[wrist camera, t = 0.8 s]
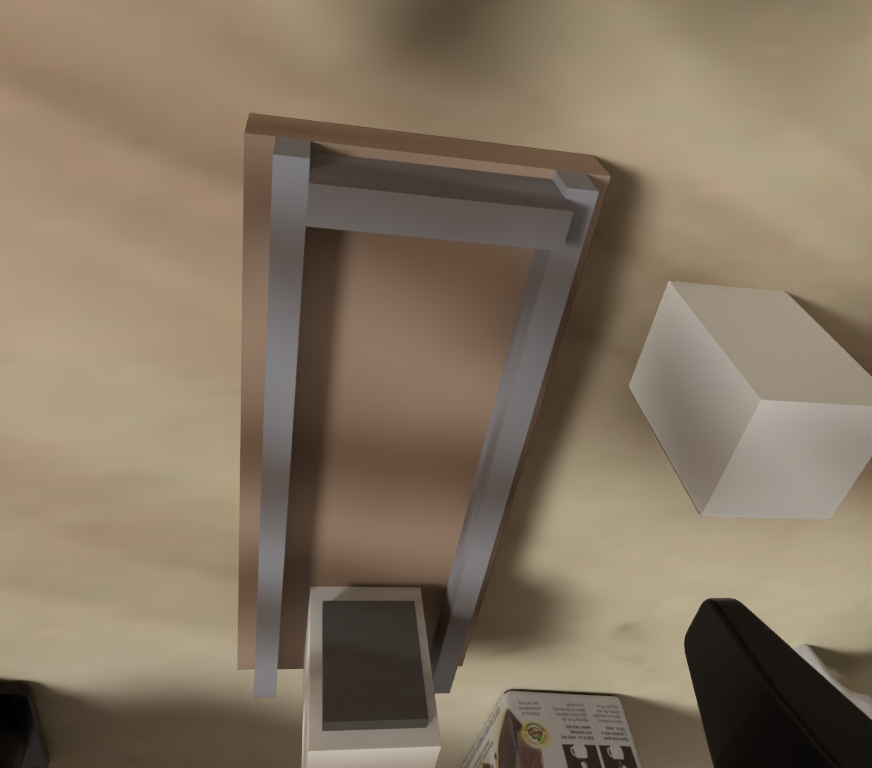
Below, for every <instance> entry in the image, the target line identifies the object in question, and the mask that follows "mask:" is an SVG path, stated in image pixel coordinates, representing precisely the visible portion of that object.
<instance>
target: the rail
mask: <svg viewBox="0 0 872 768" xmlns="http://www.w3.org/2000/svg"><path fill="white" fill-rule="evenodd" d="M610 178H611V176H610V174H609V173H608V172H607V171H606V170H605V169H604V167H603V166H602V165H601V164H600V163H599V161H598V160H597V159H596V158H595V157H594V156H592V155H584V154H576V153H568V152H560V151H551V150H543V149H535V148H527V147H519V146H511V145H503V144H495V143H487V142H479V141H470V140H462V139H454V138H446V137H438V136H430V135H422V134H414V133H406V132H398V131H390V130H381V129H373V128H365V127H357V126H349V125H341V124H333V123H325V122H317V121H309V120H300V119H292V118H284V117H276V116H268V115H260V114H252V113H249V117H248V121H247V125H246V129H245V133H244V210H243V289H242V368H241V447H240V526H239V604H238V670H249V669H255V680H254V698H263V697H275V696H276V680H277V669H304V683H303V731H302V768H435V765H436V762H437V759H438V755H439V752H440V749H441V740H440V732H439V725H438V717H437V710H436V702H435V694H434V693H450V690H451V686H452V683H453V680H454V676H455V673H456V670H457V666H462V665H463V661H464V658H465V655H466V651H467V648H468V645H469V642H470V638H471V635H472V632H473V628H474V625H475V622H476V618H477V615H478V612H479V609H480V605H481V602H482V599H483V595H484V592H485V589H486V586H487V582H488V579H489V576H490V572H491V569H492V566H493V563H494V559H495V556H496V553H497V549H498V546H499V543H500V540H501V536H502V533H503V530H504V526H505V523H506V520H507V517H508V513H509V510H510V507H511V503H512V500H513V497H514V494H515V490H516V487H517V484H518V480H519V477H520V474H521V471H522V467H523V464H524V461H525V457H526V454H527V451H528V448H529V444H530V441H531V438H532V434H533V431H534V428H535V425H536V421H537V418H538V415H539V411H540V408H541V405H542V402H543V398H544V395H545V392H546V388H547V385H548V382H549V379H550V375H551V372H552V369H553V365H554V362H555V359H556V356H557V352H558V349H559V346H560V342H561V339H562V336H563V333H564V329H565V326H566V323H567V319H568V316H569V313H570V309H571V306H572V303H573V300H574V296H575V293H576V290H577V286H578V283H579V280H580V277H581V273H582V270H583V267H584V263H585V260H586V257H587V254H588V250H589V247H590V244H591V240H592V237H593V234H594V231H595V227H596V224H597V221H598V217H599V214H600V211H601V208H602V204H603V201H604V198H605V194H606V191H607V188H608V185H609V181H610Z"/></svg>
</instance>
